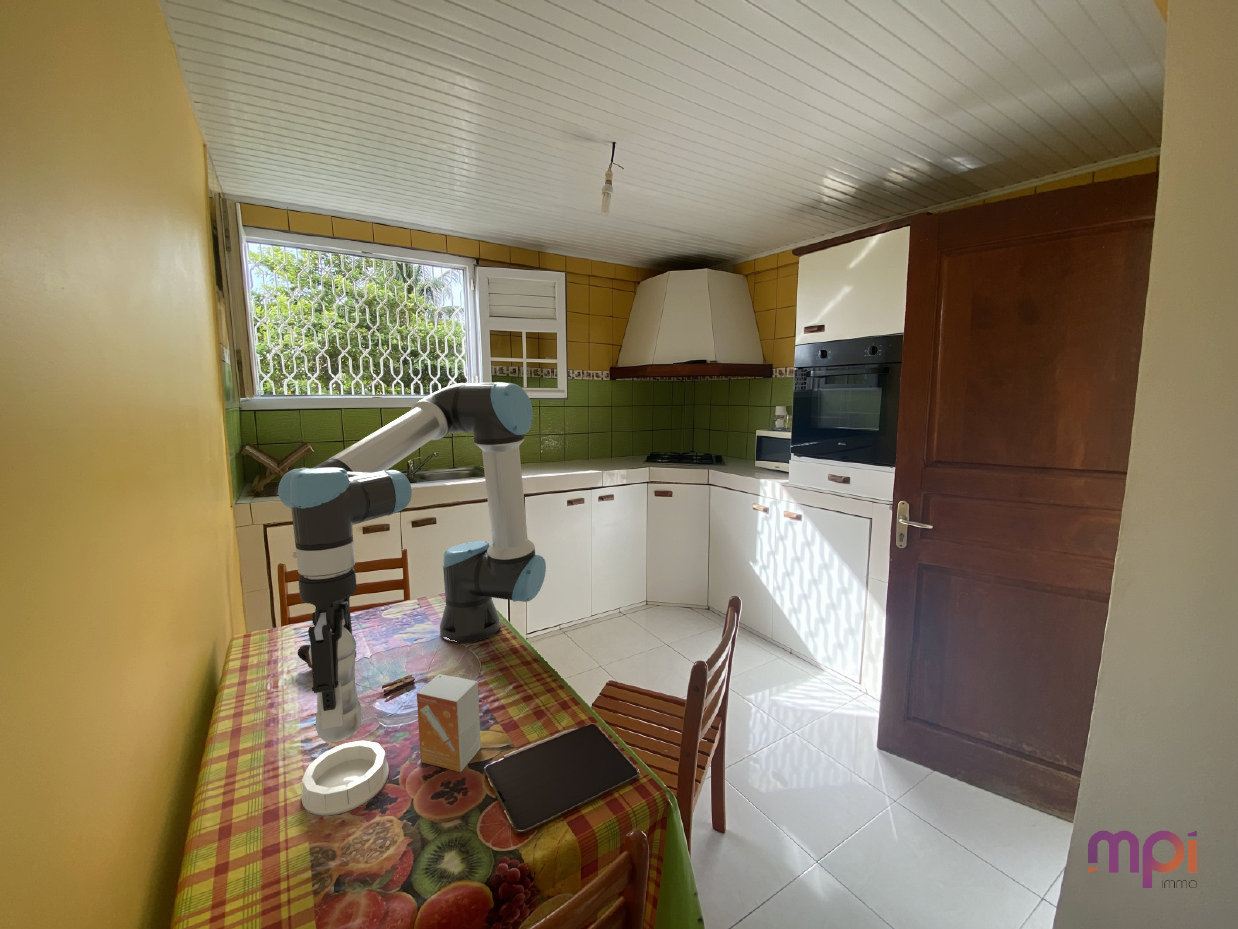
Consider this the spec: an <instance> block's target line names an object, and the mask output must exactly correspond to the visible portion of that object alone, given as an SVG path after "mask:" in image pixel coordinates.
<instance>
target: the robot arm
mask: <svg viewBox="0 0 1238 929" xmlns="http://www.w3.org/2000/svg"><path fill="white" fill-rule="evenodd" d="M533 421H534V411H533V407H532V402H531V399H530V397H529V395H528V394H527V392H526V391H525V390H524V388H523V387H521V386H520V385H518V384H516V383H512V382H502V381H495V382H460V383H456V384H452V385H451V384H450V385H449V386H446V387H444V388H441V389H439V390H437V391H434V392H433V393H430V394H428V395H427V396H425V397H423V398H421V399H419V400H418V401H416V402H415V403H413V404H412V406H411V408H410V411H408V412H406V413H405V414H403V415H401V416H400V417H398V418H396V419H394V420H393V421H391V422H389V423H388V424H386V425H385V426H383V427H381V428H379V429H378V430H376V431H374V432H372V433H370V434H369V435H367V436H366V437H364V438H362V439H360V440H359V441H357V442H355V443H354V444H353V443H352V445H350V446H349V447H346V448H345V449H343V450H342V451H339V452H337V454H335V455H333V456H331V457H329V458H328V459H326V460H324V461H323V462H321V463H319V464H317V465H316V466H314V467H312V468H309V467H300V468H294V469H291V470H289V471H288V472H286V473H285V474H284V475H283V476H282V478H281V479H280V482H279V483H278V489H277V490H278V497H279V499H280V500H281V502H282V504H283V505H285V506H286V507H287V508H288V509H291V510H290V511H291V517H292V518H291V519H292V525H293V535H294V544H295V551H294V552H292V557H293V559H296V564H297V572H298V574H299V577H298V590H299V591H298V592H299V593H298V594H299V598H300V600H301V602H303V603H305V604H309V605H313V606H314V607H315V608H314V609H315V610H314V611H313V612H312V619H311V620H312V624H313V626H309V627H308V630H307V633H308V638H309V643H310V645H311V659H312V669H311V671H312V673H311V674H312V676H313V677H312V687H311V691H312V692H313V694H317V693H319V695H320V706H321V717H322V729H325V728H331V727H338V726H343V723H344V719H343V707H342V695H341V683H338V640H339V639H340V638H341V637H342V620H343V619H344V620H345V625H344V626H343V627H344V628H346V629H347V630H348V631H349V632H350V633H351V634H352V635H353V628H352V627H353V626H352V620H351V619H352V618H351V608H350V598H351V596H352V595H353V594H355V592H356V591H357V575H356V574H357V573H356V569H355V567H354V566H355V564H356V558H355V557H356V556H355V546H354V533H353V526H354V525H358V524H360V523H365V522H368V521H372V520H376V519H379V518H382V517H386V516H392V515H394V514H396V513H399V512H400V511H403V510H404V509H406V508H407V507H408V505H409V504H410V502H411V500H412V495H413V492H412V486H411V482H410V481H409V479H408V478H407V476H406V475H405V474H404V473H403V472H401V471H398V470H396V469H390V468H392V467H393V466H394V465H396V464H398V463H399V462H401V461H402V460H403V459H405V458H406V457H408V456H409V455H412V453H414V452H415V451H417V450H418V449H419V448H422V447H423V446H424V445H426V444H427V443H428V442H430V441H431V440H432V441H437V440H440V439H441V440H442V439H443V438H444V437H445V436H447V435H450V434H457V433H458V434H459V433H469V434H470V433H471V434H473V435H472V436H473V442H474V443H473V444H474V445H475V446H476V447H478V448H479V449H480V450H481V454H482V462H483V470H484V471H483V472H484V480H485V481H484V482H485V487H486V488H485V489H486V495H487V499H486V500H487V508H488V517H489V523H490V533H491V545H490V543H489V542H488V541H485V540H476V541H475V540H474V541H468V542H463V543H459V544H456V545H453V546H451V547H448V549H446V550H445V551H444V553H443V564H442V568H443V569H442V570H443V582H444V596H445V597H444V598H445V605H444V610H443V613H442V616H441V620H440V624H439V633H440V637H441V636H442V637H447V638H449V639H450V640H455V641H457V642H459V643H458V644H464V643H465V644H467V643H474V642H478V641H482V640H485V639H488V638H490V637H491V636H493V635H495V634H496V633H497V632H498V631H499V630H500V628H501V627H500V626H501V625H500V616H499V613H498V611H497V608H496V606H495V603H494V601H493V599H501V600H508V601H512V602H514V603H516V602H523V603H524V602H525V603H528V602H531V601H532V600H533V599H535V598H536V596H538V594H539V592H540V591H541V589H542V587H543V584H544V581H545V577H546V572H547V570H546V568H547V565H546V564H547V563H546V560H545V558H544V557H543V556H542V555H539V554H536V547H535V543H534V542H532V541H531V540H530V539H529V538H528V525H527V518H526V506H525V505H526V504H525V496H524V495H525V494H524V487H523V486H524V484H523V476H522V475H523V474H522V465H521V464H522V462H521V455H520V454H521V452H520V446H521V445H522V443H523V442H524V441H525V438H526V436H525V434H527V433H528V432H529V431H530V430H531V428H532V424H533V423H532V422H533ZM389 469H390V470H389ZM492 598H493V599H492ZM331 633H336V634H332V635H331ZM442 637H441V638H442ZM356 657H357V654H356V655H355V659H356Z"/></svg>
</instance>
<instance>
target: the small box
mask: <svg viewBox="0 0 1238 929" xmlns="http://www.w3.org/2000/svg"><path fill="white" fill-rule="evenodd" d="M479 700H480V699H479V681H477V680H472V679H467V678H464V677H459V676H453V675H446V674H442V673H438V674H437V675H436V676H435V677H434V678H433V679H431V680H430V681H429V682H427V683H426V685H424V686H423V687H422V688H421V689H420V690H418V691H417V692H416V702H417V704H416V705H417V706H416V708H417V719H418V720H417V722H418V737H419V738H418V740H419V756H420V762H421V763H423V764H426V765H427V764H428V765H432V766H437V767H440V768H443V769H448V770H452V771H455V772H457V773H462V772H463V770H465V768H466V767H467V765H468V764H469V763H470V762H471V761H472V759H473V758H474V757H475V756H476V755H477V753H478V752H479V751H480V750H481V746H482V745H481V744H482V743H481V741H482V740H481V723H480V702H479Z"/></svg>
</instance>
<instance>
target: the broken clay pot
mask: <svg viewBox="0 0 1238 929" xmlns="http://www.w3.org/2000/svg"><path fill="white" fill-rule="evenodd" d="M310 645H311V644H303V645H300V647H299V649H298V650H297V653H296V654H297V656H298V658H299V659H301V660H302V661H303V662H305V663H306V664H307V667H308V668H309V669H311V670H312V664H311V661H310V657H309V649H310ZM312 678H313V675H312Z"/></svg>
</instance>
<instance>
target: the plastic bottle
mask: <svg viewBox="0 0 1238 929" xmlns="http://www.w3.org/2000/svg"><path fill="white" fill-rule="evenodd" d="M344 625H345V620H344V619H343V620H342V637H341V638H340V639H339V640H338V683H341V695H342V707H343V719H344V723H343V726H338V727H331V728H325V729H322V717H321V706H320V695H319V693H316V694H317V695H316V704H317V705H316V714H315V725H314V726H315V730H316V733H317V735H318V738H320V739H321V740H322V741H323V742H326V743H331V744H333V743H339V742H343V741H346V740H348V739H350V738H353V736H354V735H355V734H357V733H358V731H359V729H360V728H361V726H362V722H363V709H362V706H361V703H360V701H359V697H358V691H357V685H356V676H355V675H356V672H355V671H356V666H355V665H356V658H355V655H356V656H357V641H356V639H355V637H354V635H353V633H352V634H351V633H350V632H349V631H348V630H347V629H346V628H344V627H343V626H344ZM332 634H336V633H331V635H332ZM309 645H310V649H309V657H310V661H311V664H312V659H311V644H309Z"/></svg>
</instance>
